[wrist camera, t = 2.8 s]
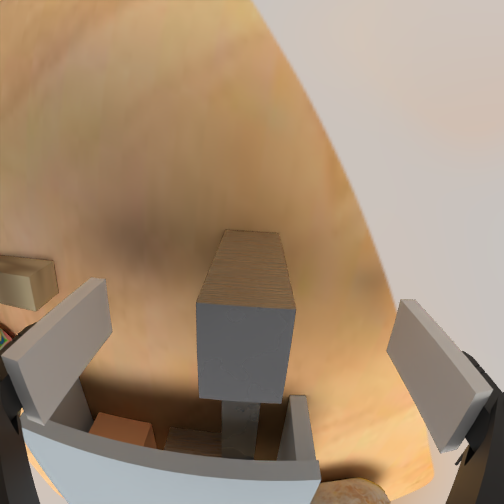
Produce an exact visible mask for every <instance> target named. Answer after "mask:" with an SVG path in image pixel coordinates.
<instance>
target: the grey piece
mask: <svg viewBox="0 0 504 504" xmlns="http://www.w3.org/2000/svg"><path fill="white" fill-rule="evenodd" d="M295 313H296V307H295V302H294V298H293V293H292V288H291V284H290V279H289V275H288V270H287V266H286V261H285V257H284V253H283V248H282V244H281V239H280V235H279V233H269V232H254V231H238V230H225V233H224V235H223V237H222V240H221V242H220V245H219V247H218V249H217V252H216V254H215V257H214V259H213V262H212V264H211V267H210V269H209V272H208V274H207V277H206V279H205V282H204V284H203V287H202V289H201V292H200V294H199V297H198V299H197V302H196V324H197V360H198V385H199V398H205V399H214V400H222V433H217V432H208V431H199V430H191V429H183V428H176V427H170V430H169V433H168V437H167V440H166V444H165V447H164V450H165V451H171V452H177V453H184V454H191V455H199V456H207V457H217V458H228V459H242V460H254V453H255V445H256V437H257V429H258V421H259V412H260V404H261V403H278V404H281V403H282V397H283V391H284V385H285V379H286V373H287V367H288V361H289V354H290V348H291V341H292V334H293V327H294V320H295Z"/></svg>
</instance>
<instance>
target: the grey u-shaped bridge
mask: <svg viewBox="0 0 504 504" xmlns="http://www.w3.org/2000/svg"><path fill="white" fill-rule="evenodd" d="M19 418H20V420H21V425H22V431H23V437H24V441H25V443H26V444H27V446H28V448H29V449H30V451H31V452H32V454H33V455H34V457H35V459H36V460H37V462H38V463H39V465H40V466H41V467H42V469H43V470H44V472H45V473H46V475H47V476H48V477H49V479H50V480H51V482H52V483H53V484H54V486H55V487H56V488H57V490H58V491H59V492H60V493H61V495H62V496H63V497H64V498H65V500H66V501H67V502H68V503H69V504H310V503H311V501H312V498H313V496H314V494H315V492H316V490H317V488H318V486H319V484H320V482H321V474H320V467H319V461H318V460H316V457H315V450H314V443H313V437H312V430H311V424H310V418H309V412H308V405H307V399H306V396H298V395H290V397H289V402H288V408H287V413H286V418H285V423H284V428H283V432H282V437H281V442H280V447H279V451H278V456H277V460H276V461H263V460H242V459H228V458H217V457H207V456H199V455H191V454H184V453H177V452H171V451H165V450H159V449H153V448H148V447H143V446H138V445H134V444H129V443H125V442H121V441H117V440H113V439H109V438H105V437H101V436H97V435H94V434H90V433H89V431H90V429H91V427H92V425H93V423H94V420H93V418H92V415H91V412H90V410H89V407H88V404H87V401H86V398H85V395H84V392H83V389H82V386H81V383H80V379H79V377H78V379H77V380H76V381H75V383H74V384H73V386H72V387H71V388H70V390H69V391H68V393H67V394H66V395H65V397H64V398H63V400H62V401H61V403H60V404H59V405H58V407H57V408H56V410H55V411H54V413H53V414H52V415H51V417H50V418H49V420H48V421H47V423H46V424H45V426H43V425H41V424H38V423H36V422H34V421H31V420H29V419H28V418H27V416H26V414H25V412H23V413H22V414H21V416H20V417H19Z"/></svg>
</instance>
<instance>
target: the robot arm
mask: <svg viewBox="0 0 504 504" xmlns="http://www.w3.org/2000/svg"><path fill="white" fill-rule="evenodd" d="M111 333H112V325H111V318H110V311H109V304H108V296H107V287H106V279H102V278H94V277H91V278H90V279H89V280H87V281H86V282H85V283H84V284H82V285H81V286H80V287H79V288H77V289H76V290H75V291H74V292H73V293H71V294H70V295H69V296H68V297H67V298H65V299H64V300H63V301H62V302H61V303H59V304H58V305H57V306H56V307H55V308H53V309H52V310H51V311H50V312H49V313H48V314H46V315H45V316H44V317H43V318H42V319H41V320H39V321H38V322H36V323H34V324H32V325H30V326H27V327H26V328H24V329H23V330H22V331H21V332H20V333H19V334H18V336H17V335H16V336H15V337H14V338H13V339H12V341H10V342H9V343H7V344H6V345H5V346H4V347H3V348H2V349H1V350H0V504H40V502H39V498H38V495H37V492H36V488H35V485H34V481H33V477H32V474H31V469H30V466H29V461H28V457H27V452H26V447H25V442H24V437H23V431H22V425H21V420H20V418H19V415H18V412H19V411H20V409H21V408H23V410H24V412H25V414H26V416H27V418H28V419H29V420H31V421H34V422H36V423H38V424H41V425H43V426H45V424H46V423H47V421H48V420H49V418H50V417H51V415H52V414H53V413H54V411H55V410H56V408H57V407H58V405H59V404H60V403H61V401H62V400H63V398H64V397H65V395H66V394H67V393H68V391H69V390H70V388H71V387H72V386H73V384H74V383H75V381H76V380H77V379H78V377H79V376H80V375H81V373H82V372H83V371H84V369H85V368H86V366H87V365H88V364H89V362H90V361H91V360H92V358H93V357H94V356H95V354H96V353H97V352H98V350H99V349H100V348H101V346H102V345H103V344H104V342H105V341H106V340H107V338H108V337H109V336H110V335H111ZM387 353H388V355H389V356H390V358H391V360H392V362H393V364H394V365H395V367H396V369H397V371H398V373H399V374H400V376H401V378H402V380H403V382H404V384H405V386H406V387H407V389H408V391H409V393H410V395H411V397H412V399H413V401H414V402H415V404H416V406H417V408H418V410H419V412H420V414H421V416H422V418H423V420H424V422H425V424H426V426H427V428H428V430H429V432H430V434H431V436H432V438H433V440H434V442H435V444H436V446H437V448H438V450H439V452H440V453H445V452H448V451H452V450H456V449H458V447H459V446H460V444H461V443H462V441H463V440H464V438H466V440H467V441H468V443H469V445H468V446H467V448H466V449H465V451H464V452H463V454H462V455H461V456H460V457H459V459H458V460H457V462H456V463H455V465H458V464H459V462H460V461H461V464H460V467H459V470H458V473H457V475H456V478H455V481H454V484H453V486H452V489H451V491H450V494H449V496H448V499H447V501H446V504H504V392H503V393H502V392H501V390H500V389H499V388H498V387H497V385H496V384H495V383H494V382H493V381H492V379H491V378H490V377H489V376H488V375H487V373H485V371H484V370H483V369H482V367H480V365H479V364H478V363H477V361H476V360H475V359H474V358H473V357H472V356H470V355H469V354H467V353H466V352H464V351H461V350H460V349H459V348H458V347H457V346H456V344H455V343H454V342H453V341H452V340H451V339H450V337H449V336H448V335H447V334H446V333H445V332H444V331H443V330H442V329H441V327H440V326H439V325H438V324H437V323H436V322H435V321H434V320H433V318H432V317H431V316H430V315H429V314H428V313H427V312H426V311H425V310H424V309H423V308H422V307H421V306H420V304H419V303H418V302H417V301H416V300H408V299H401V300H400V304H399V308H398V312H397V316H396V319H395V323H394V327H393V330H392V334H391V337H390V341H389V344H388V347H387Z"/></svg>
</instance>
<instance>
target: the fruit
mask: <svg viewBox="0 0 504 504" xmlns="http://www.w3.org/2000/svg"><path fill="white" fill-rule="evenodd" d="M310 504H390V501H389V499H388V497H387V495H386V494H385V491H384V490H383V489H382V488H381V487H380V486H379V485H377V484H375V483H374V482H372V481H370V480H367V479H364V478H349V479H343V480H339V481H332V482H323V483H320V484H319V486H318V488H317V490H316V492H315V494H314V496H313V498H312V501H311V503H310Z"/></svg>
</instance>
